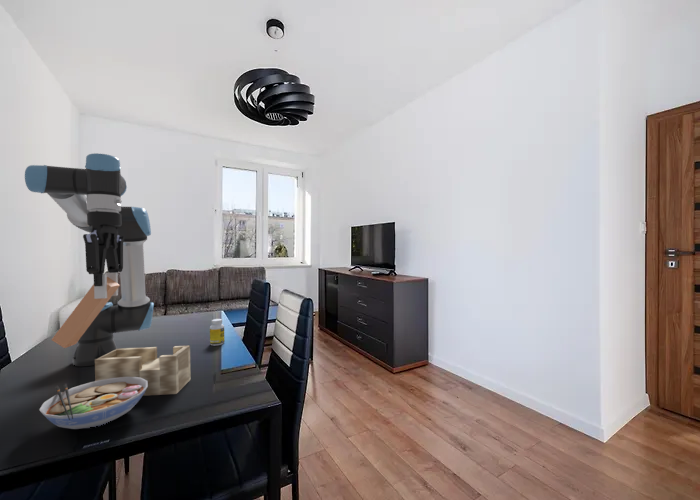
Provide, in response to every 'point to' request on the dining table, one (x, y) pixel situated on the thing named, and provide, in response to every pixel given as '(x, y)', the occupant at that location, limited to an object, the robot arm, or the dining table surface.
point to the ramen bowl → (94, 402)
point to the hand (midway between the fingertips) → (106, 296)
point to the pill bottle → (217, 332)
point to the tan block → (83, 316)
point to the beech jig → (148, 368)
